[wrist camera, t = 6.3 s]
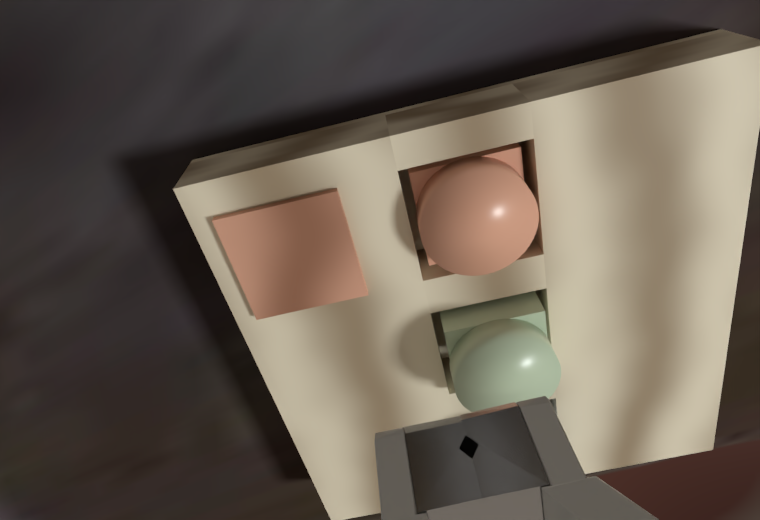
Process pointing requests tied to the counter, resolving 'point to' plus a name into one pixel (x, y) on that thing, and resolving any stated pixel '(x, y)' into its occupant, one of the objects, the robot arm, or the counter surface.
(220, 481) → the counter surface
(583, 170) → the button panel
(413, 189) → the terracotta button
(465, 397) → the sage button
